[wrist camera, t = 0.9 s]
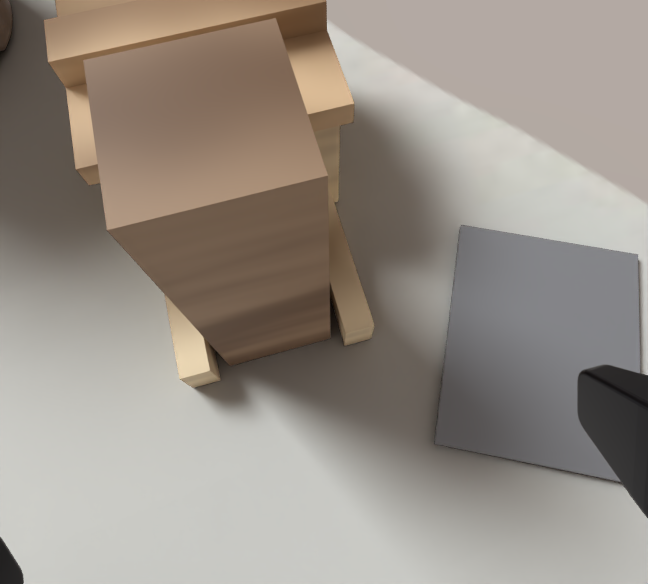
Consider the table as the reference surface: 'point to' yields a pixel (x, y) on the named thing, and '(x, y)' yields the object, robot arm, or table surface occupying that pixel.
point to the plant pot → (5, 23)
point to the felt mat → (533, 345)
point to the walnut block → (218, 185)
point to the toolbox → (190, 20)
